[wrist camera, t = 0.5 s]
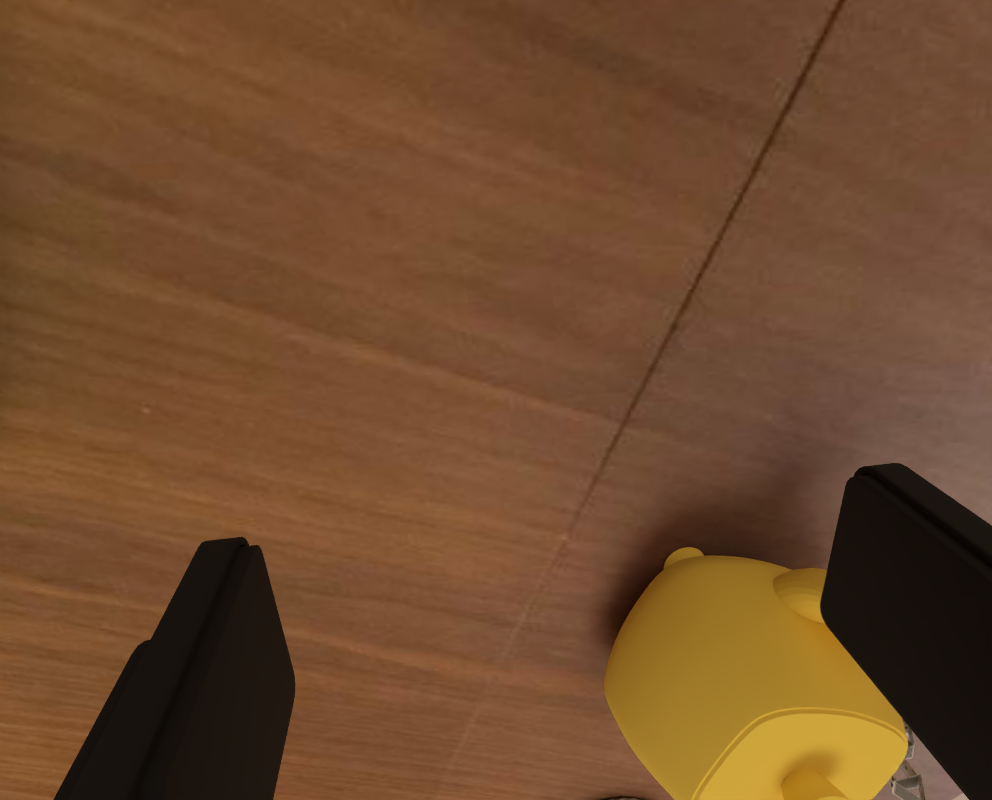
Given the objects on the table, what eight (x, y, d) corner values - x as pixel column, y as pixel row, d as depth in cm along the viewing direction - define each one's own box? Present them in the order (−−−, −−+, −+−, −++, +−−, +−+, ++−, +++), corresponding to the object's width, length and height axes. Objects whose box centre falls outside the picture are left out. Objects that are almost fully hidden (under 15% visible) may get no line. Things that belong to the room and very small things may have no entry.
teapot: (549, 689, 40) (605, 920, 28) (699, 430, 33) (852, 595, 21) (723, 723, 43) (835, 941, 32) (890, 495, 36) (1111, 667, 25)
